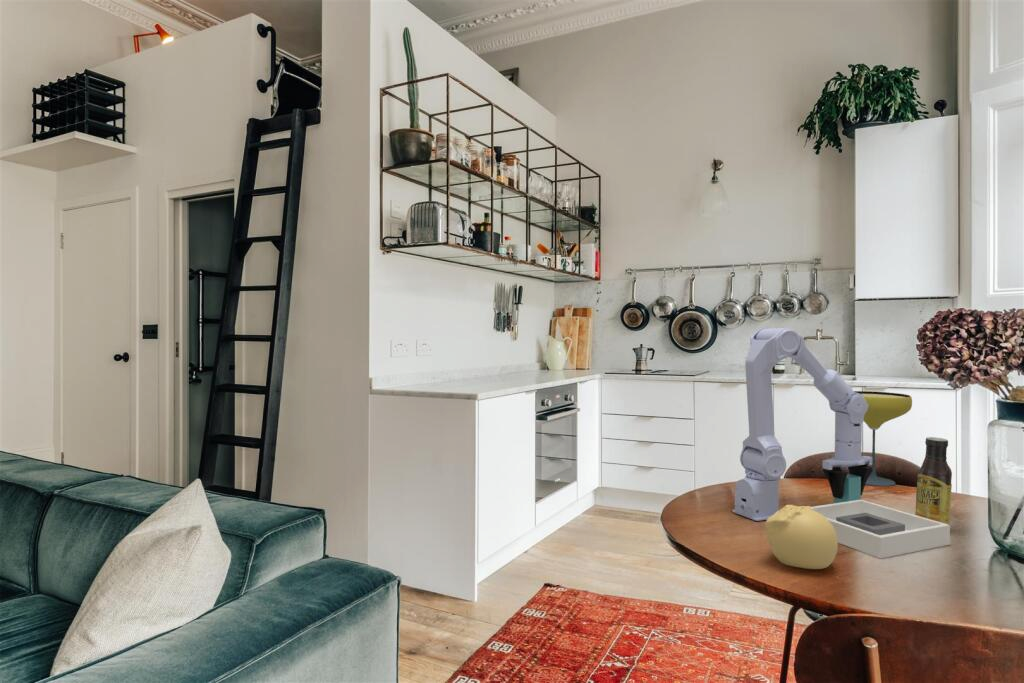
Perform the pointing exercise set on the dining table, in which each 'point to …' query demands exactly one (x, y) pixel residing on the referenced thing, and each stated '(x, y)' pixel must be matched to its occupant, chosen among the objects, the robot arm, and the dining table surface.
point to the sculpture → (801, 537)
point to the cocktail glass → (883, 420)
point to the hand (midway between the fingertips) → (847, 496)
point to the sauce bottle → (934, 483)
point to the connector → (851, 489)
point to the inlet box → (883, 528)
